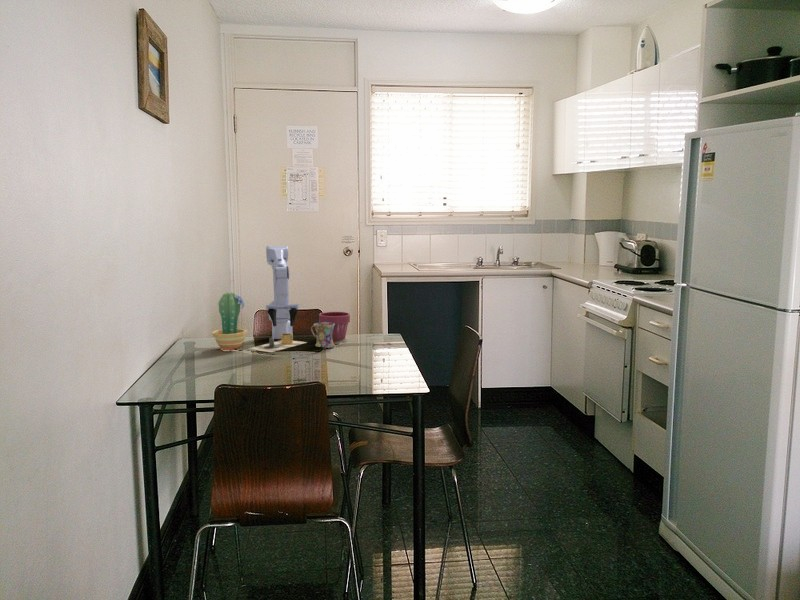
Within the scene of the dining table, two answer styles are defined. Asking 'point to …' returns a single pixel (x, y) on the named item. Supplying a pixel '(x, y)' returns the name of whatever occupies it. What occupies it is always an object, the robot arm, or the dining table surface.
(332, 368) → the dining table surface
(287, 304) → the robot arm
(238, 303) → the potted cactus
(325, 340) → the mug
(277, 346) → the post board
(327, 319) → the plant pot
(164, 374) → the dining table surface
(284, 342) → the brass collar
